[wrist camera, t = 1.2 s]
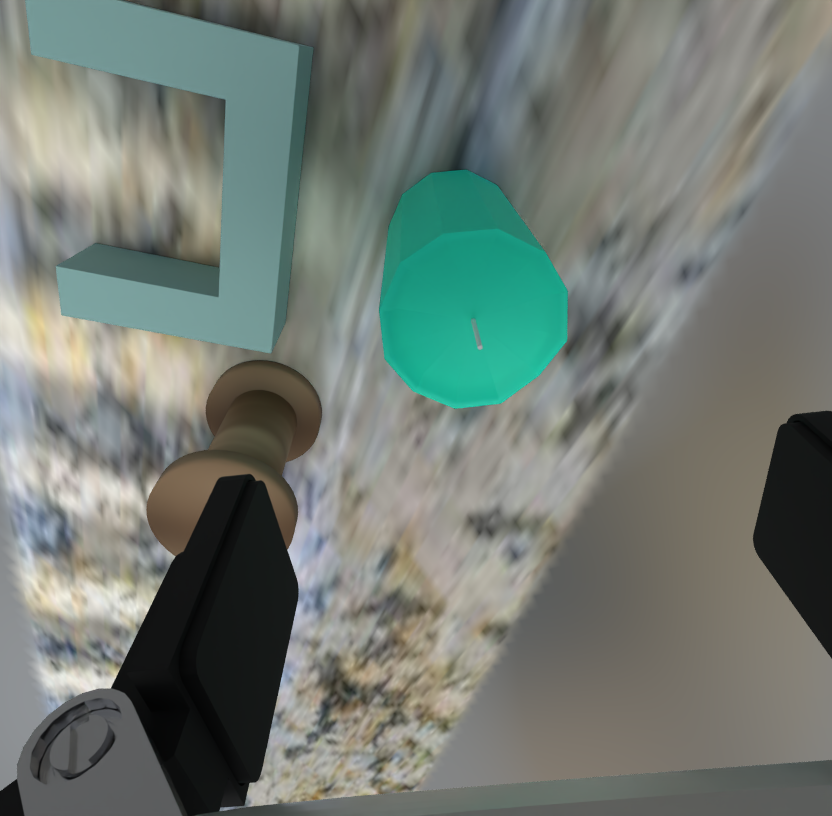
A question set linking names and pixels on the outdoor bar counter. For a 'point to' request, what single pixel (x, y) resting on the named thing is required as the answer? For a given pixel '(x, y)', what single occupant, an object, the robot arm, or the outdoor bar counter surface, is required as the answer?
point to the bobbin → (240, 448)
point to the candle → (467, 293)
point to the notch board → (242, 170)
